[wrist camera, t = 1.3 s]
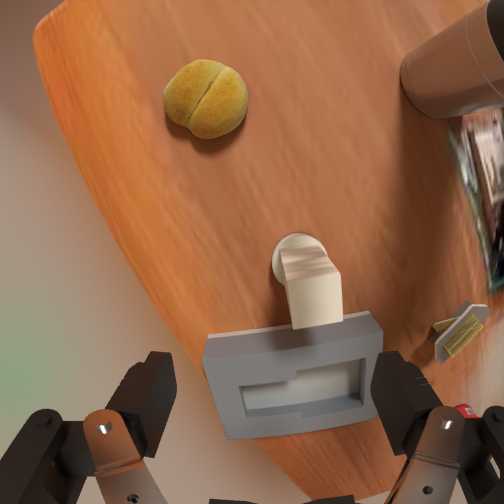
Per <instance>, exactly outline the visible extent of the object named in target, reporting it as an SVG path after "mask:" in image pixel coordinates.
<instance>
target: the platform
mask: <svg viewBox="0 0 504 504" xmlns="http://www.w3.org/2000/svg"><path fill="white" fill-rule="evenodd" d="M489 315H490V309H489V307H488V306H486V305H474V304H471V303H469V302H468V301H467V300H466V301H465V302H464V303H463V305H462V306H461V307H460V308H459V309H458V310H457V311H456V312H455V313H454V314H453V315H452V316H451V317H450V318H449V319H448V320H444V321H441V322H437V323H435V324H434V325H433V326H432V327H433V328H434V329H435V331H436V332H435V333H434V334H433V335H432V336H431V337H430V338H429V340H430V341H431V343H432V344H433V345H434V346H435V359H436V360H437V361H438V363H439V364H442V363H443V362H445V361H446V360H447V359H448V358H449V357H450V356H452V357H454V356H456V355H457V354H458V353H459V352H460V351H461V350H462V349H463V348H464V347H465V346H466V345H467V344H468V343H469V342H470V341H471V339H472V338H473V337H474V336H475V335H476V334H477V333H478V332H479V331H480V330H481V329H482V328H483V327H484V326H483V325H482V323H483V322H484V321H485V320H486V319H487V318H488V316H489ZM482 326H483V327H482ZM479 327H480V328H481V327H482V328H481V329H480V328H479ZM478 328H479V329H480V330H479V329H478ZM477 329H478V330H479V331H478V330H477ZM476 330H477V331H478V332H477V331H476ZM475 331H476V332H477V333H476V332H475ZM474 332H475V333H476V334H475V333H474ZM473 333H474V334H475V335H474V334H473ZM472 334H473V335H474V336H473V335H472ZM471 335H472V336H473V337H472V336H471ZM470 336H471V337H472V338H471V337H470ZM469 337H470V338H471V339H470V338H469ZM468 338H469V339H470V340H469V339H468ZM467 339H468V340H469V341H468V342H467V343H465V341H466V340H467ZM464 343H465V344H464ZM463 344H464V345H465V346H464V345H463ZM462 345H463V346H464V347H463V346H462ZM461 346H462V347H463V348H462V347H461ZM460 347H461V348H462V349H461V348H460ZM459 348H460V349H459ZM458 349H459V350H458ZM456 350H458V352H457V353H456V354H455V353H454V352H455V351H456ZM453 353H454V354H455V355H454V354H453ZM452 354H453V355H454V356H453V355H452Z"/></svg>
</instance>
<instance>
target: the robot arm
mask: <svg viewBox="0 0 504 504" xmlns="http://www.w3.org/2000/svg"><path fill="white" fill-rule="evenodd" d="M400 76H401V83H402V86H403V89H404V91H405V93H406V95H407V97H408V98H409V100H410V101H411V103H412V104H413V105H414V106H415V107H416V108H417V109H418V110H419V111H420V112H422V113H423V114H425V115H427V116H429V117H431V118H435V119H446V118H451V117H456V116H461V115H466V114H471V113H476V112H482V111H487V110H493V109H498V108H504V0H490V1H488V2H487V3H485V4H484V5H482V6H480V7H479V8H477V9H475V10H474V11H472V12H471V13H469V14H468V15H466V16H465V17H463V18H462V19H460V20H458V21H457V22H455V23H454V24H452V25H451V26H449V27H448V28H446V29H445V30H443V31H442V32H440V33H439V34H437V35H436V36H434V37H433V38H431V39H430V40H428V41H427V42H426V43H424V44H422V45H421V46H420V47H418V48H417V49H415V50H414V51H413V52H411V53H410V54H409V55H407V56H406V57H405V59H404V60H403V62H402V65H401V71H400ZM370 392H371V397H372V400H373V402H374V405H375V407H376V409H377V412H378V414H379V417H380V419H381V422H382V424H383V427H384V429H385V432H386V434H387V437H388V439H389V442H390V444H391V447H392V450H393V452H394V455H395V456H397V455H402V454H406V456H407V460H406V461H405V463H404V466H403V468H402V470H401V472H400V474H399V476H398V478H397V480H396V482H395V484H394V486H393V488H392V490H391V492H390V494H389V496H388V498H387V499H386V501H385V503H384V504H449V502H450V498H451V496H452V493H453V489H454V486H455V482H456V479H457V478H458V480H459V483H460V485H461V487H462V490H463V493H464V495H465V498H466V500H467V503H468V504H504V407H502V406H491V407H489V408H487V409H486V411H485V412H484V414H483V416H482V418H464V416H463V414H462V413H461V412H460V411H459V410H457V409H455V408H453V407H450V406H444V405H443V404H442V402H441V401H440V399H439V398H438V396H437V395H436V393H435V392H434V390H433V389H432V387H431V386H430V384H428V381H427V380H426V378H424V375H423V374H422V372H421V371H420V369H419V368H418V367H416V366H415V365H414V364H412V363H411V362H405V360H404V359H403V357H402V356H401V354H400V353H399V352H398V351H390V352H380V353H379V354H378V356H377V360H376V364H375V368H374V372H373V376H372V380H371V386H370ZM176 393H177V384H176V378H175V372H174V366H173V360H172V355H171V353H168V352H157V351H151V352H150V354H149V355H148V357H147V359H146V361H145V362H144V363H142V362H138V363H136V364H135V365H134V366H132V367H131V368H130V369H129V370H128V371H127V373H126V375H125V376H124V379H122V381H121V383H120V386H118V388H117V389H116V391H115V392H114V394H113V396H112V397H111V399H110V401H109V402H108V404H107V406H106V407H105V409H101V410H97V411H94V412H92V413H91V414H89V415H88V416H87V417H86V418H85V420H84V421H63V420H62V417H61V416H60V414H59V413H58V412H57V411H55V410H52V409H41V410H38V411H36V412H34V413H33V414H32V415H31V416H30V417H29V418H28V420H27V421H26V423H25V424H24V426H23V427H22V428H21V430H20V431H19V433H18V434H17V436H16V437H15V439H14V440H13V442H12V443H11V445H10V446H9V448H8V449H7V451H6V452H5V454H4V455H3V457H2V458H1V460H0V504H76V502H77V500H78V498H79V495H80V493H81V490H82V488H83V485H84V483H85V480H86V478H87V476H95V477H96V480H97V483H98V485H99V488H100V490H101V493H102V496H103V498H104V501H105V503H106V504H168V503H167V501H166V500H165V498H164V496H163V495H162V493H161V492H160V490H159V488H158V486H157V484H156V483H155V481H154V479H153V477H152V476H151V474H150V472H149V470H148V468H147V466H146V465H145V463H144V461H143V458H144V456H145V457H150V458H154V457H155V454H156V451H157V449H158V446H159V443H160V440H161V437H162V434H163V432H164V429H165V426H166V423H167V420H168V417H169V414H170V412H171V409H172V406H173V404H174V401H175V398H176ZM492 457H493V458H494V460H495V462H496V464H497V466H498V468H499V470H500V479H499V478H498V476H497V474H496V472H495V470H494V468H493V466H492V464H491V462H490V460H491V458H492ZM209 504H256V503H252V502H247V501H233V500H219V499H210V500H209ZM304 504H360V503H355V501H354V496H353V495H348V496H341V497H333V498H324V499H318V500H314V501H311V502H307V503H304Z"/></svg>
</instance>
